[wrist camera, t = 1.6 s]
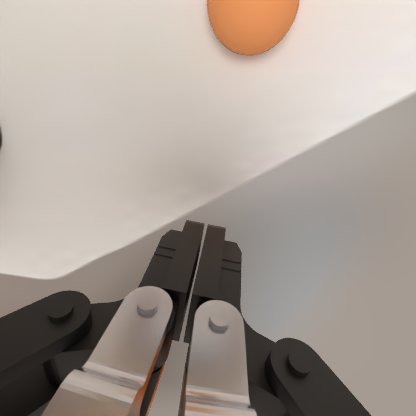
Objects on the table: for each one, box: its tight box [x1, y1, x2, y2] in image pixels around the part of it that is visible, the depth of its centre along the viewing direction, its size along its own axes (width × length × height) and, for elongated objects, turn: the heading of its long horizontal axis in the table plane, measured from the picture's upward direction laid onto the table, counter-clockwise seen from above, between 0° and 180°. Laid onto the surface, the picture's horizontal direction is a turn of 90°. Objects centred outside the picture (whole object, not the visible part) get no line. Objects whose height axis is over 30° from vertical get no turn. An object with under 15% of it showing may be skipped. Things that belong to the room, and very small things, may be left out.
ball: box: [207, 0, 299, 55], centre depth 16 cm, size 6×6×6 cm
